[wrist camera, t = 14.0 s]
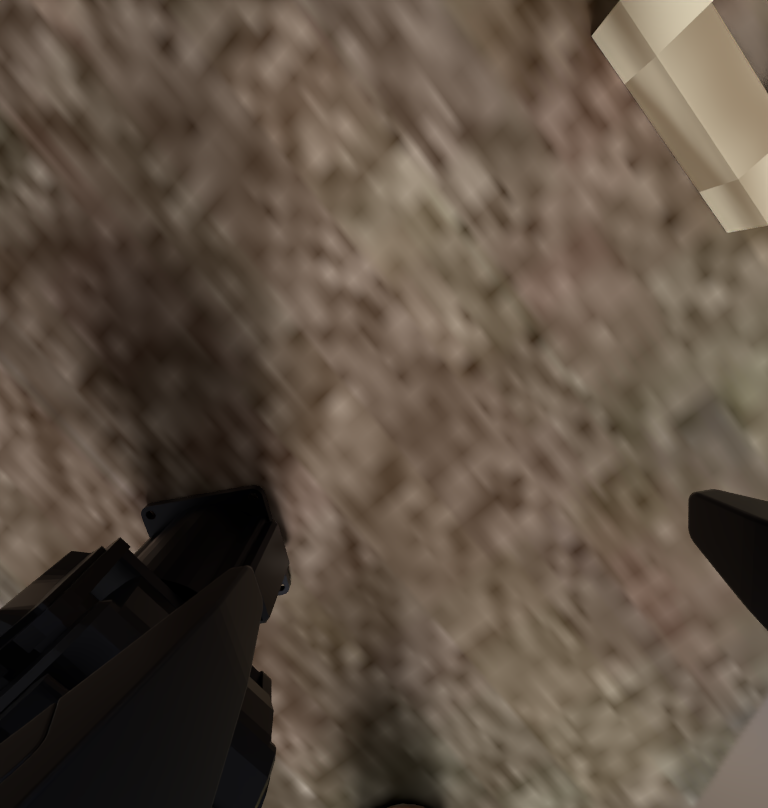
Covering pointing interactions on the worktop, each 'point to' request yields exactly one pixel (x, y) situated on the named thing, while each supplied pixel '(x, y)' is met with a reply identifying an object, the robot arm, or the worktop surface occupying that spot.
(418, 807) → the sauce bottle
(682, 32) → the square wooden frame
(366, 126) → the worktop surface
